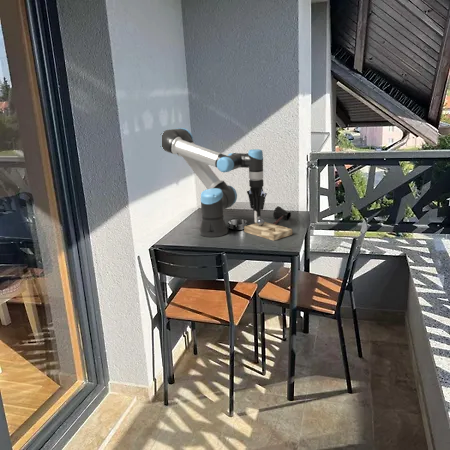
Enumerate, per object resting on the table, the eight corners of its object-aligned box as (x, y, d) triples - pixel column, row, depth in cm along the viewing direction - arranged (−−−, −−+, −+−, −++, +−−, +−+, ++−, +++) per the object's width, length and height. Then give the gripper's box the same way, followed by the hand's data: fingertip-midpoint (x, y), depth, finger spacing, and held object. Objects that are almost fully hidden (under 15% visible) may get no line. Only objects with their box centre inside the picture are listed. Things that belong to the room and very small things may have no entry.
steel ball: (259, 227, 234) (261, 221, 233) (254, 224, 237) (255, 218, 235) (265, 226, 237) (266, 219, 235) (260, 223, 239) (261, 216, 238)
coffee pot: (279, 215, 265) (291, 219, 261) (262, 226, 253) (275, 230, 248) (280, 204, 262) (292, 208, 257) (263, 214, 249) (275, 219, 245)
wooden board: (273, 240, 221) (273, 235, 220) (244, 231, 237) (244, 226, 236) (292, 234, 229) (292, 229, 229) (262, 226, 246) (262, 221, 245)
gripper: (270, 179, 229) (270, 222, 236) (252, 176, 239) (254, 218, 245) (259, 181, 225) (260, 225, 231) (242, 178, 234) (244, 221, 241)
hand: (257, 221), depth 238 cm, fingers closed
